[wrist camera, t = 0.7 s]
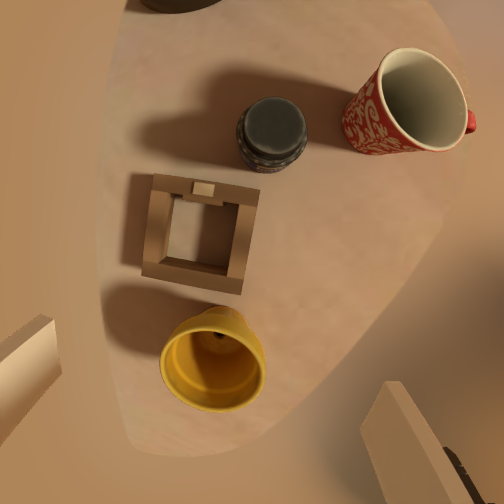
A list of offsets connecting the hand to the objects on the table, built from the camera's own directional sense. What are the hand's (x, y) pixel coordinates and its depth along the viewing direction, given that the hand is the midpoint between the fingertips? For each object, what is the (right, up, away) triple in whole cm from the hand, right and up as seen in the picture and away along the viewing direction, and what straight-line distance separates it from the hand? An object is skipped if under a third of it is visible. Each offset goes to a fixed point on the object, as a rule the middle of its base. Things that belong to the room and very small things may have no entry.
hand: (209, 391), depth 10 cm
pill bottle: (+3, +17, +22) cm, 28 cm away
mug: (+17, +20, +21) cm, 33 cm away
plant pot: (-2, -5, +26) cm, 27 cm away
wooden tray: (-4, +7, +23) cm, 25 cm away
